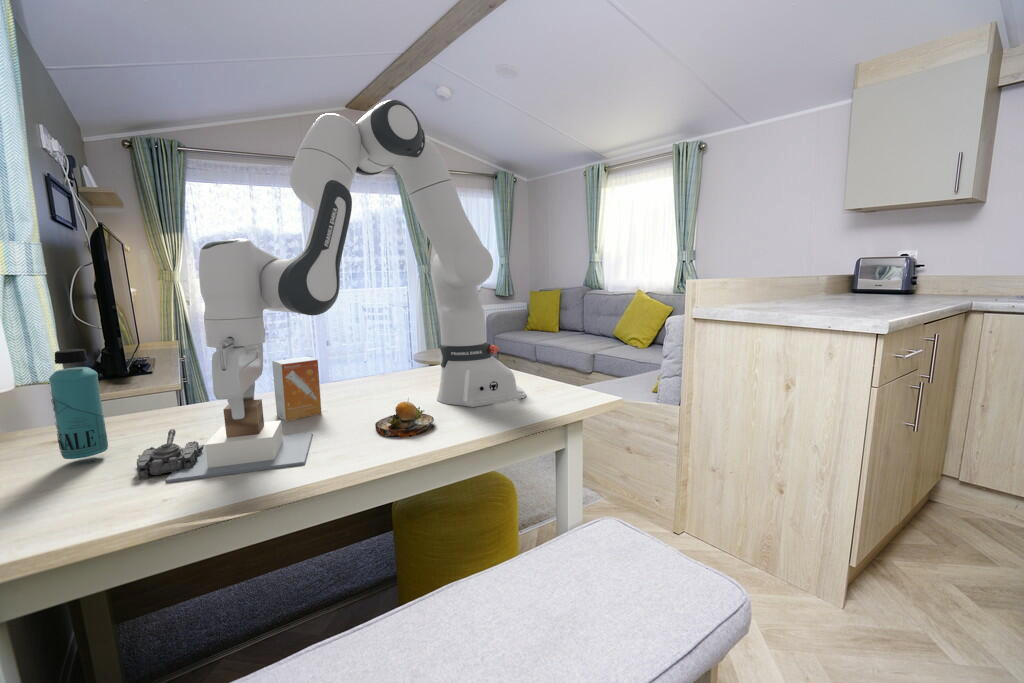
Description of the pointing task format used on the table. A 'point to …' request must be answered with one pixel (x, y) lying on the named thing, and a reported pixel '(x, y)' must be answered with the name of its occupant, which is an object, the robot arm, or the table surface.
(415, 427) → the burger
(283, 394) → the small box
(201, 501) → the table surface
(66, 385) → the beverage bottle
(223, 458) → the white plinth
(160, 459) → the tank toy
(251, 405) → the walnut block
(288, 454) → the plain slate board
